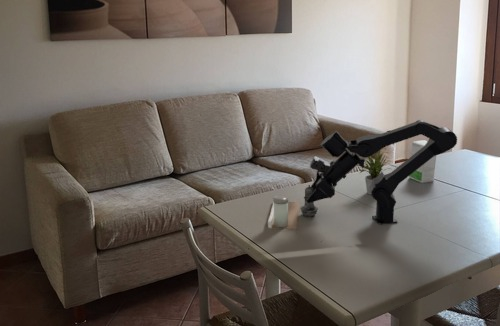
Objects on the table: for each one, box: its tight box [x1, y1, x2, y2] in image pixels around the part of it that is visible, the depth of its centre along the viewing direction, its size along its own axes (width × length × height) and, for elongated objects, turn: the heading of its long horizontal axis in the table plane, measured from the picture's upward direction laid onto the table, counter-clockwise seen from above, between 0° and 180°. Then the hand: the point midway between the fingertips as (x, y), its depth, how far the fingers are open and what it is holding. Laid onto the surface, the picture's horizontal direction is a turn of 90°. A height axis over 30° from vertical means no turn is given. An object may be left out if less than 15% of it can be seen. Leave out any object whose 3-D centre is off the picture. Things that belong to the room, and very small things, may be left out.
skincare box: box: [408, 139, 437, 184], centre depth 221 cm, size 8×7×16 cm
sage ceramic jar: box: [272, 195, 289, 227], centre depth 175 cm, size 5×5×9 cm
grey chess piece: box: [299, 184, 319, 217], centre depth 183 cm, size 6×6×12 cm
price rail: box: [267, 195, 278, 229], centre depth 186 cm, size 1×25×3 cm, turn 172°
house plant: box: [356, 151, 391, 196], centre depth 207 cm, size 14×14×16 cm
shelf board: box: [271, 201, 301, 230], centre depth 186 cm, size 9×25×1 cm, turn 172°
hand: (307, 197), depth 183 cm, fingers open, 9 cm apart
